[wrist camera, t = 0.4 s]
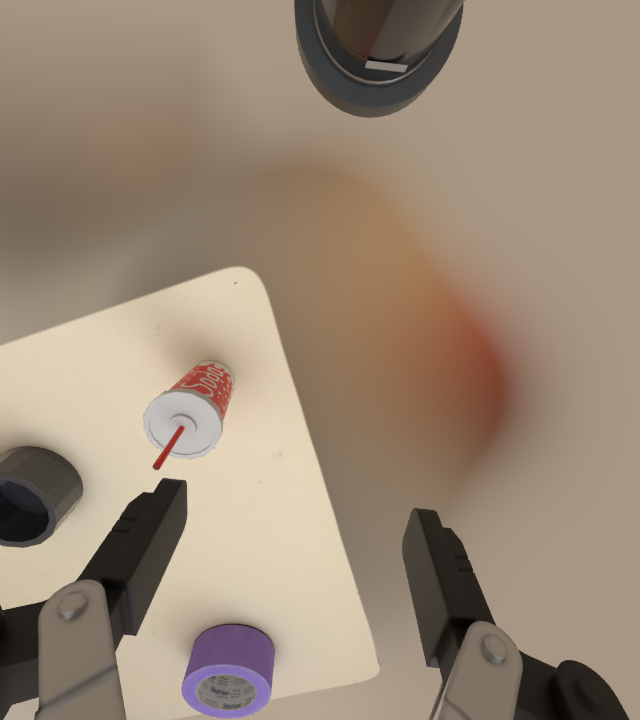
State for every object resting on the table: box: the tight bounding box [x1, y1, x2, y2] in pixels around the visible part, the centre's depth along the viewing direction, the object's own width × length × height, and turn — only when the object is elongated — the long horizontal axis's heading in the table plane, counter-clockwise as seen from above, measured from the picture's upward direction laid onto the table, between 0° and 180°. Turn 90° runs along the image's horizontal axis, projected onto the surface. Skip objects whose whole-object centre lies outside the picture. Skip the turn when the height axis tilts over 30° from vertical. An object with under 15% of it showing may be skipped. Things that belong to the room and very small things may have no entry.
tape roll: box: [182, 625, 275, 718], centre depth 48 cm, size 12×12×5 cm
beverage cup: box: [143, 361, 234, 470], centre depth 29 cm, size 6×6×14 cm
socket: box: [0, 447, 83, 548], centre depth 38 cm, size 10×10×4 cm
